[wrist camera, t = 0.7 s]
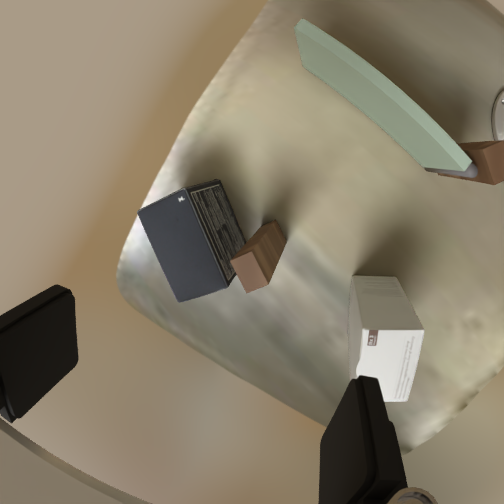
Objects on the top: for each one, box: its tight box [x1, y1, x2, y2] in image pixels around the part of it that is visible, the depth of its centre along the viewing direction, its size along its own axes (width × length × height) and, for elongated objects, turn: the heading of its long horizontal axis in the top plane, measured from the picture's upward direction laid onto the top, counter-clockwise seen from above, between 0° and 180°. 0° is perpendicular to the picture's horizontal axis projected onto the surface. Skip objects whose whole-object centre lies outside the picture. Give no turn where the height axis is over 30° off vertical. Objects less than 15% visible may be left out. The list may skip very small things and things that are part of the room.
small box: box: [137, 179, 246, 303], centre depth 36 cm, size 11×6×10 cm, turn 23°
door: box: [294, 18, 478, 178], centre depth 27 cm, size 19×3×12 cm, turn 52°
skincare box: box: [347, 275, 425, 402], centre depth 32 cm, size 8×6×15 cm
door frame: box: [230, 140, 504, 293], centre depth 29 cm, size 25×3×14 cm, turn 117°
